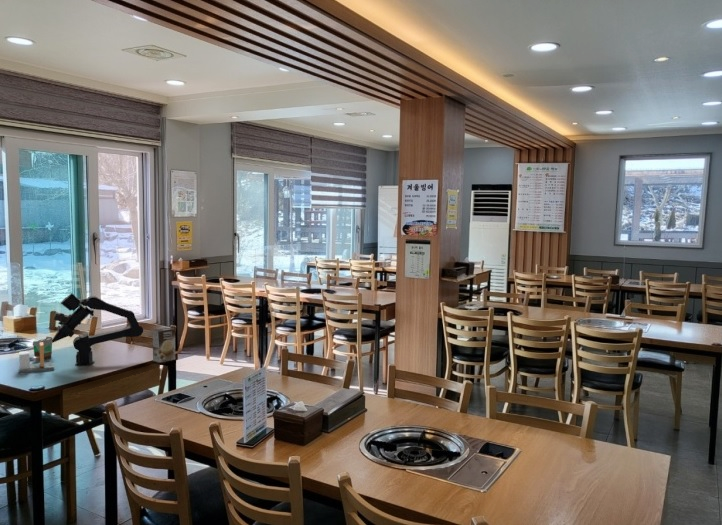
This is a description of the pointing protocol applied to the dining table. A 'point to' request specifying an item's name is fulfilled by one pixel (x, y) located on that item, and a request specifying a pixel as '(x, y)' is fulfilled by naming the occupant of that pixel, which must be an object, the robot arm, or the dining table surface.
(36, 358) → the tan trapezoid block
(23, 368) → the bearing base
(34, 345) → the food container
